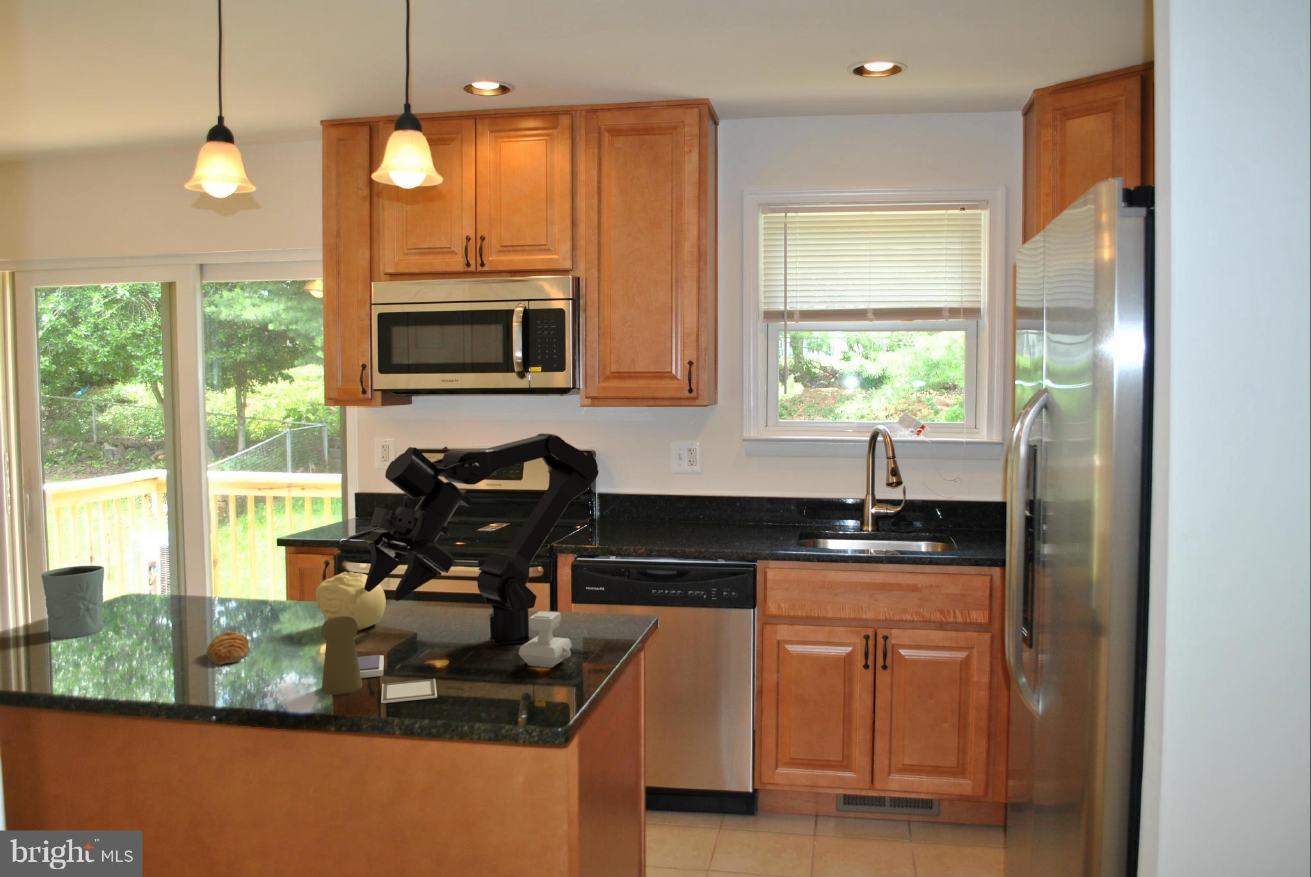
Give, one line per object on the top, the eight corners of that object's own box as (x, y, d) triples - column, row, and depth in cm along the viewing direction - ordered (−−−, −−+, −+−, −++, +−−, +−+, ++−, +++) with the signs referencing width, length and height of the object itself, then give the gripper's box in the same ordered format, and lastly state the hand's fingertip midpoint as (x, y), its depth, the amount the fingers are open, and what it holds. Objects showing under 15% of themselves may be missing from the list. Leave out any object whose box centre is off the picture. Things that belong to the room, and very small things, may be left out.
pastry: (251, 663, 158) (250, 641, 158) (207, 670, 155) (206, 647, 155) (248, 649, 167) (247, 628, 166) (206, 655, 164) (205, 633, 163)
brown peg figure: (349, 695, 141) (347, 624, 140) (313, 693, 142) (310, 622, 142) (369, 682, 147) (367, 613, 146) (334, 680, 148) (332, 612, 147)
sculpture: (307, 630, 177) (305, 574, 176) (358, 616, 187) (356, 563, 187) (348, 639, 171) (346, 581, 170) (398, 623, 181) (396, 568, 181)
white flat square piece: (435, 680, 147) (435, 678, 147) (437, 697, 140) (436, 695, 140) (382, 685, 145) (382, 683, 145) (381, 703, 138) (381, 700, 138)
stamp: (512, 668, 153) (511, 617, 153) (530, 656, 159) (529, 607, 159) (562, 673, 150) (561, 621, 150) (579, 660, 157) (578, 611, 156)
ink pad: (383, 661, 158) (383, 653, 158) (382, 675, 150) (382, 667, 150) (333, 665, 156) (333, 658, 156) (330, 680, 148) (330, 672, 148)
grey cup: (48, 643, 171) (44, 578, 171) (42, 631, 179) (38, 569, 178) (111, 632, 178) (108, 570, 177) (102, 622, 186) (99, 562, 185)
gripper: (369, 482, 159) (316, 561, 153) (428, 491, 146) (372, 578, 139) (416, 518, 165) (366, 595, 159) (476, 529, 152) (424, 614, 146)
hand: (380, 595), depth 151 cm, fingers open, 9 cm apart
